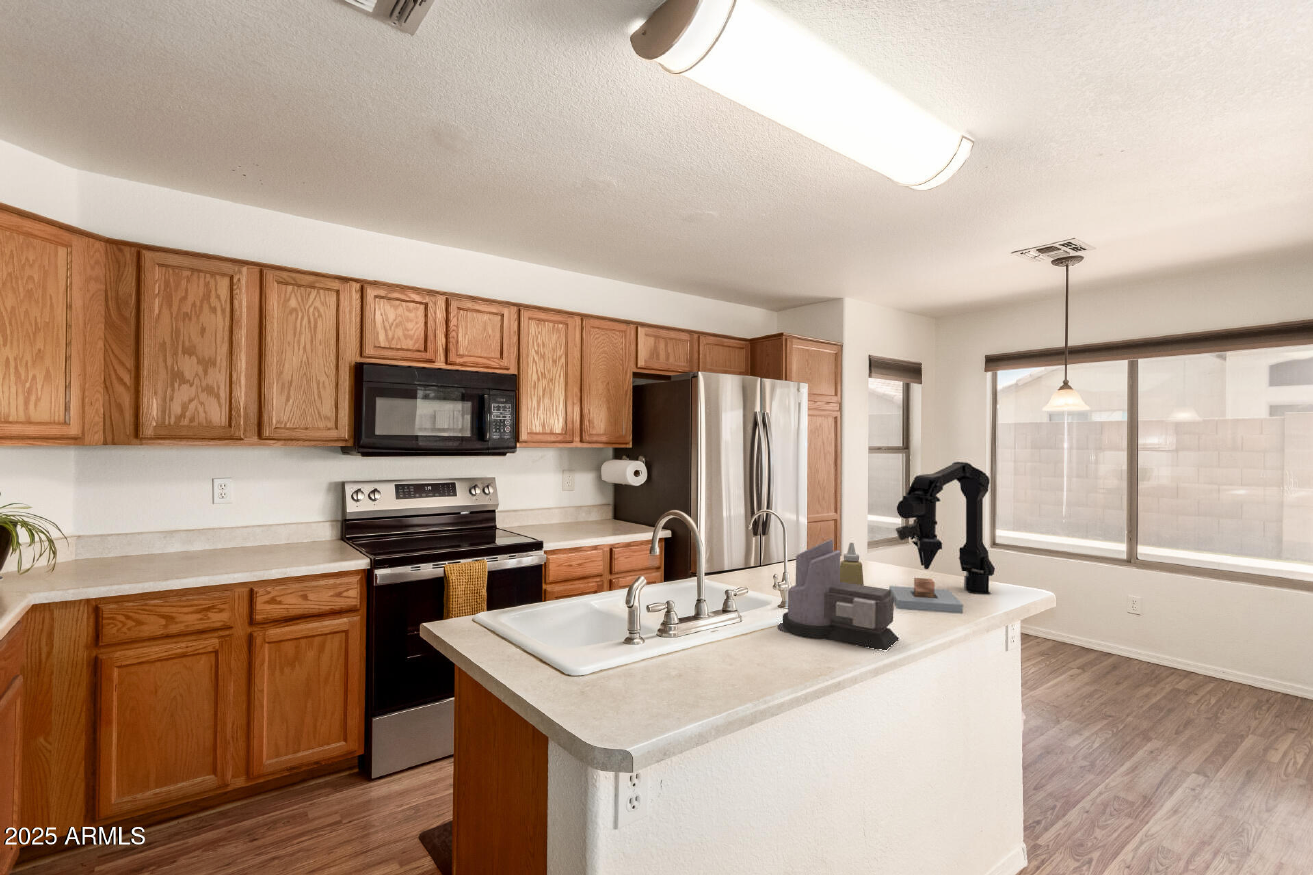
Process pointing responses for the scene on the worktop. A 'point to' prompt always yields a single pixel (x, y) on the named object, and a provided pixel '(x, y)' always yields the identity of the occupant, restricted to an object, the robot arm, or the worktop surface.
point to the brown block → (924, 587)
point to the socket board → (926, 600)
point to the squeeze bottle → (851, 567)
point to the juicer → (836, 604)
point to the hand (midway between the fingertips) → (924, 567)
